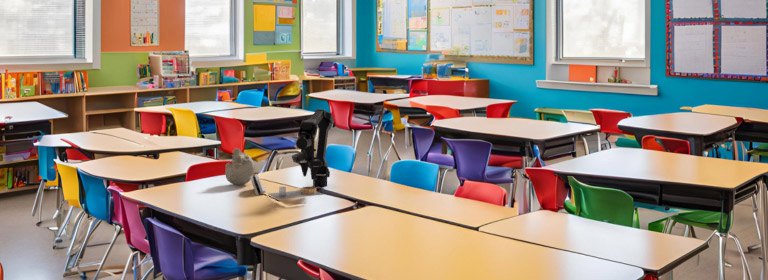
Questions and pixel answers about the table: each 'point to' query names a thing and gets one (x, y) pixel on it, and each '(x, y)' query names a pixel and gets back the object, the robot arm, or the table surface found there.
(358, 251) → the table surface
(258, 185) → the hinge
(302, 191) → the ring
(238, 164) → the grey lumpy stone
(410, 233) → the table surface
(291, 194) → the base
